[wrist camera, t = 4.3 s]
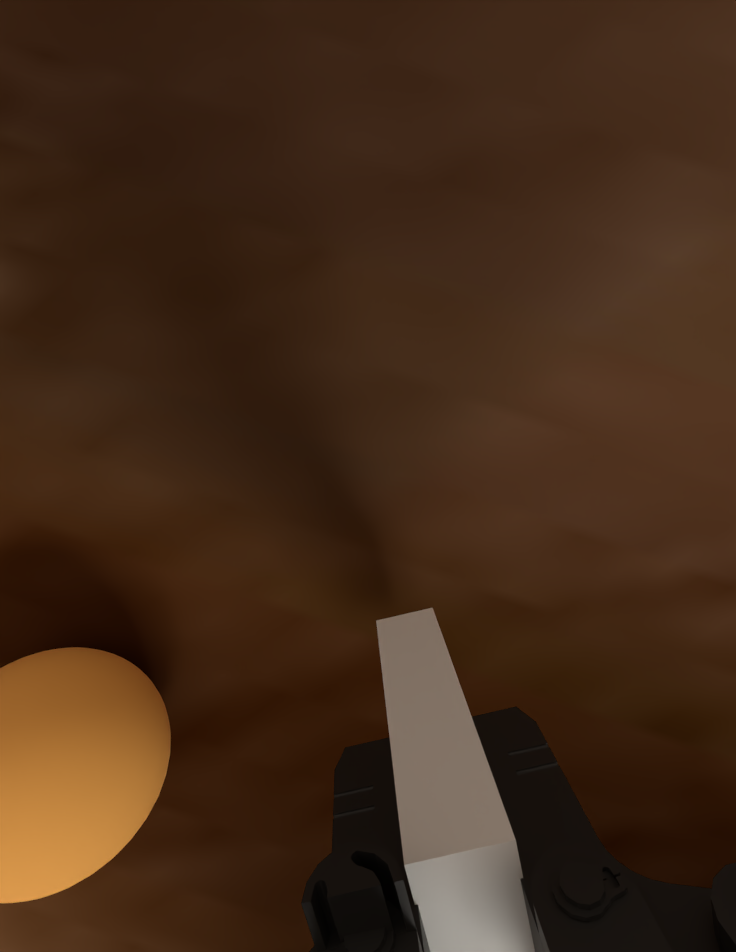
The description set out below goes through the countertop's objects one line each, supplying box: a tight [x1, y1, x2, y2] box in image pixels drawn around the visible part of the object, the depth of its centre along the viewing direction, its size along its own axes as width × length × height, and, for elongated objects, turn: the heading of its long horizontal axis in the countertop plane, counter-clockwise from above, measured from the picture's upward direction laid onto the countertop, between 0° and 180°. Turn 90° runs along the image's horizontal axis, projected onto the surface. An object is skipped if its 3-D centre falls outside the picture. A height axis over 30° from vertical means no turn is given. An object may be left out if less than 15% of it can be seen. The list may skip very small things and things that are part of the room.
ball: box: [0, 647, 171, 903], centre depth 13 cm, size 6×6×6 cm
